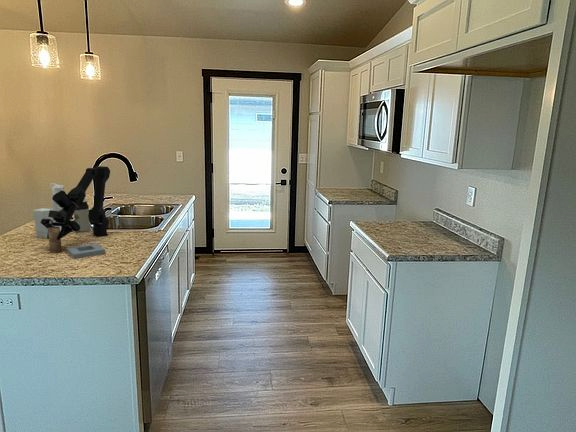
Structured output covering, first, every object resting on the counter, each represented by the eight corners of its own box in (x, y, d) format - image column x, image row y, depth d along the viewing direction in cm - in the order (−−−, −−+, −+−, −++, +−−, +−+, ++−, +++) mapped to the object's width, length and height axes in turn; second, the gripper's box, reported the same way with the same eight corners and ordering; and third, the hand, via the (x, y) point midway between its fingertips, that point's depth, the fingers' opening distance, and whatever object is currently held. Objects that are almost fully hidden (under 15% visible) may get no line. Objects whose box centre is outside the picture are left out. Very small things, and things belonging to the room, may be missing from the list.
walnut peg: (60, 249, 202) (58, 226, 200) (62, 252, 199) (60, 228, 196) (49, 251, 199) (46, 227, 197) (51, 253, 196) (49, 229, 193)
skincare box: (57, 236, 226) (54, 208, 223) (46, 239, 220) (44, 211, 217) (45, 234, 229) (43, 207, 226) (35, 237, 223) (32, 209, 220)
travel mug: (86, 227, 247) (84, 198, 243) (92, 230, 242) (90, 200, 238) (72, 230, 241) (70, 200, 237) (79, 232, 236) (76, 202, 232)
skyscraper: (57, 231, 235) (53, 184, 230) (50, 229, 239) (46, 182, 233) (70, 229, 242) (67, 182, 236) (63, 227, 246) (60, 181, 240)
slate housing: (96, 247, 208) (96, 243, 208) (105, 253, 198) (104, 249, 198) (66, 251, 199) (66, 247, 199) (73, 258, 189) (73, 254, 189)
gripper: (41, 202, 200) (25, 229, 191) (74, 204, 196) (59, 232, 188) (54, 215, 209) (39, 241, 201) (86, 217, 205) (73, 244, 197)
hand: (52, 239), depth 196 cm, fingers closed on walnut peg, 5 cm apart
